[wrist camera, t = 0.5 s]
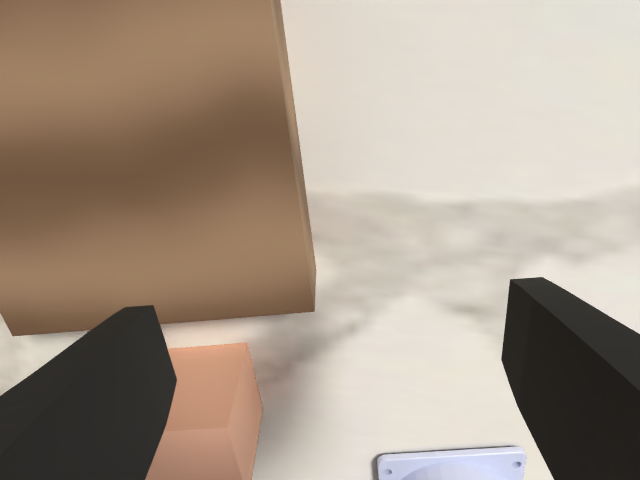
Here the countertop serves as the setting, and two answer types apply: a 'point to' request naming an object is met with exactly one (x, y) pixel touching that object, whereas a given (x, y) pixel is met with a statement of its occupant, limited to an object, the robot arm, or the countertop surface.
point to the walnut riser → (148, 163)
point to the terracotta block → (210, 416)
